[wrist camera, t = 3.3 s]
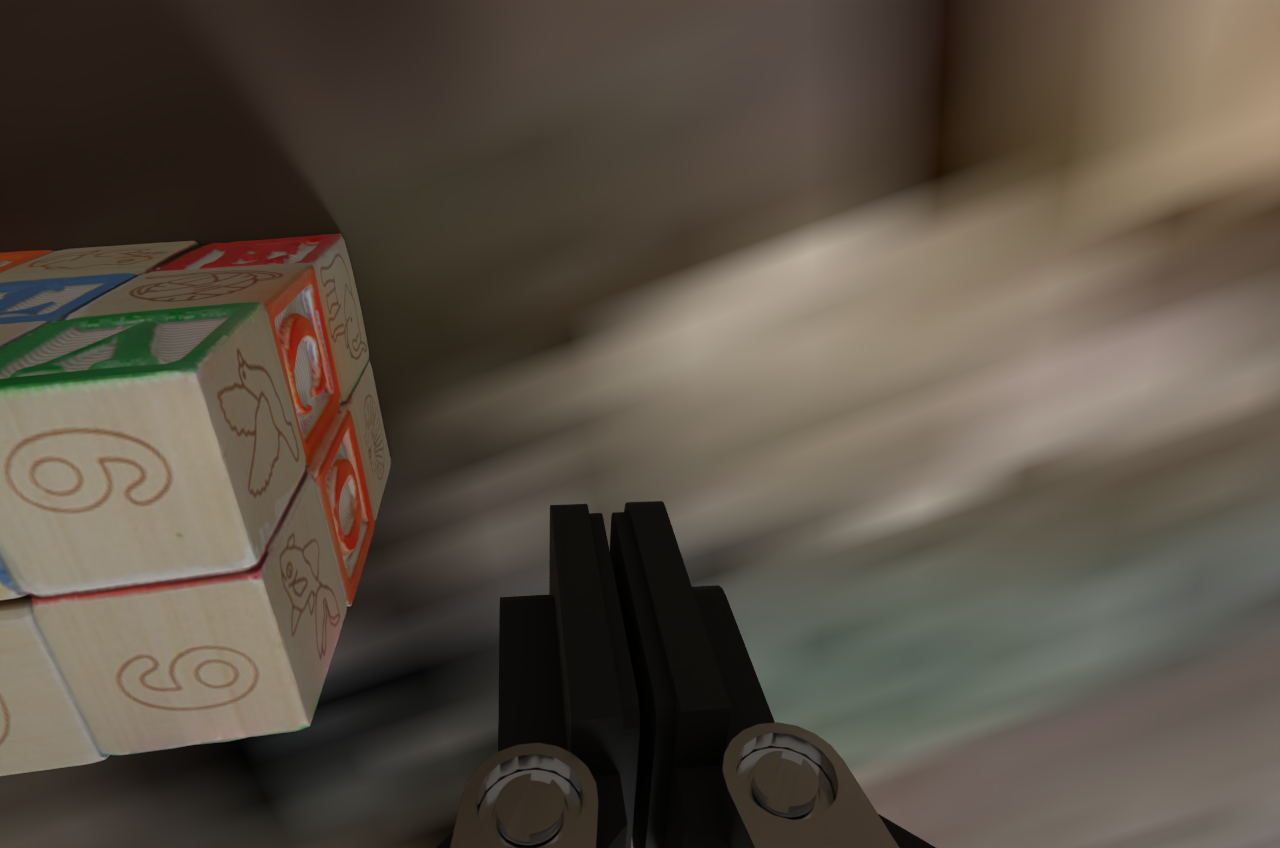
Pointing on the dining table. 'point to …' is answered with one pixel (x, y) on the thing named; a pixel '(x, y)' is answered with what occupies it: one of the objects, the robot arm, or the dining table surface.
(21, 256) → the stack of blocks
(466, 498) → the dining table surface
